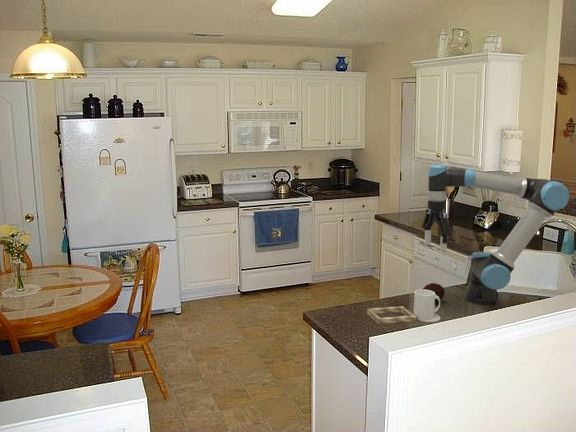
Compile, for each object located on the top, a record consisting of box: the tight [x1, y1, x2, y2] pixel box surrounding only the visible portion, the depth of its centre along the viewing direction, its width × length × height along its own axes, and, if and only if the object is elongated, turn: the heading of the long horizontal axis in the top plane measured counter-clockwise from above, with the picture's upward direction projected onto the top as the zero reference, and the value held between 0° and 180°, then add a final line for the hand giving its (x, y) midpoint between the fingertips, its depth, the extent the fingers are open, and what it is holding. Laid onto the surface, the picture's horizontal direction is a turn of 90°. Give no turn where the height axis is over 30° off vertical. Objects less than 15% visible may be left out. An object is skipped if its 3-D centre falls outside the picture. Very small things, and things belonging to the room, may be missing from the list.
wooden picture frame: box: [366, 306, 417, 325], centre depth 236 cm, size 17×14×2 cm
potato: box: [422, 282, 446, 303], centre depth 255 cm, size 9×12×9 cm
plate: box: [416, 312, 441, 324], centre depth 235 cm, size 11×11×1 cm
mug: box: [412, 288, 441, 319], centre depth 234 cm, size 9×12×11 cm
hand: (435, 247), depth 244 cm, fingers open, 13 cm apart
